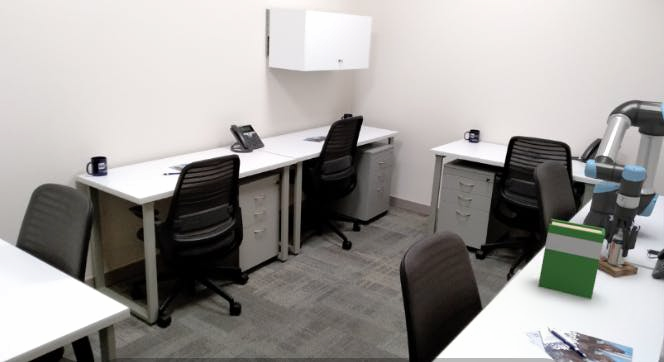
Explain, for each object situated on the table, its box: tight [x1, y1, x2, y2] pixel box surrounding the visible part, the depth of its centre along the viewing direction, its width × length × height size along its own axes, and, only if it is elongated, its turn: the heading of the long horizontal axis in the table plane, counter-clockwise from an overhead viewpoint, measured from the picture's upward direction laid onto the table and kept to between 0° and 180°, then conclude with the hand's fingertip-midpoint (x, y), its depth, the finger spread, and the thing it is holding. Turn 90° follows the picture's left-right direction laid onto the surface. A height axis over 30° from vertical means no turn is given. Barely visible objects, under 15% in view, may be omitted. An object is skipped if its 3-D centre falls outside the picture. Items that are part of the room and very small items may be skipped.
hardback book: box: [537, 218, 605, 300], centre depth 188 cm, size 18×7×24 cm, turn 64°
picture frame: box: [598, 256, 639, 278], centre depth 210 cm, size 12×12×3 cm
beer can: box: [608, 233, 623, 266], centre depth 208 cm, size 5×5×12 cm
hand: (614, 260), depth 210 cm, fingers closed on beer can, 5 cm apart
